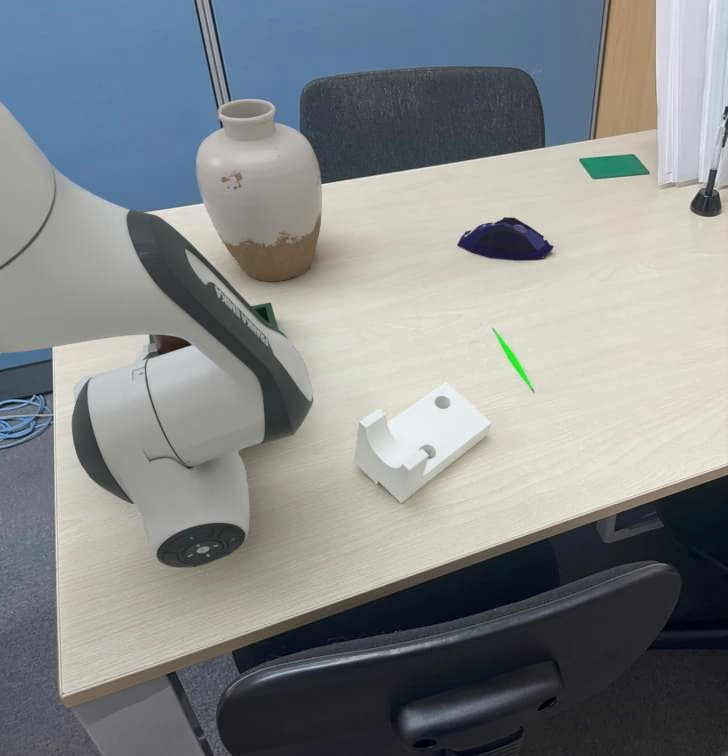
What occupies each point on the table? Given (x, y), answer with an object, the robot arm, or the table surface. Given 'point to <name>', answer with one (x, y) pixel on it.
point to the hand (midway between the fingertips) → (180, 342)
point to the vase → (261, 190)
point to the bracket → (418, 440)
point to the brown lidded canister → (169, 343)
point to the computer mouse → (506, 241)
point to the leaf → (513, 360)
